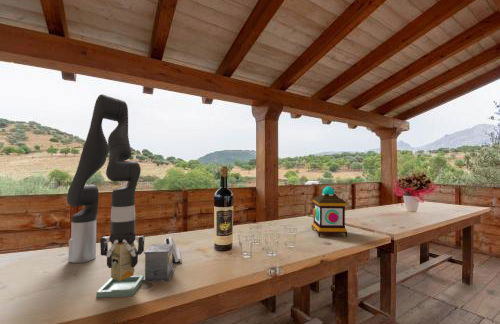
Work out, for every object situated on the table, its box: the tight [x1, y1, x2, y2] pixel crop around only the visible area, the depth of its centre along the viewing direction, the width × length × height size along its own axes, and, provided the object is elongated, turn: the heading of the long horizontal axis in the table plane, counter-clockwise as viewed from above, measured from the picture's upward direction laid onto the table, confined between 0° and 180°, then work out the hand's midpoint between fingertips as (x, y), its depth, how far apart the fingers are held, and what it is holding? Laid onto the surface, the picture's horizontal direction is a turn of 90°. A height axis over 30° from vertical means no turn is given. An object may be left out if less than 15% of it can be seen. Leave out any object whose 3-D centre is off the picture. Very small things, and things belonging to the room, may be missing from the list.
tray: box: [95, 274, 145, 299], centre depth 83 cm, size 11×11×2 cm
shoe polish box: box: [110, 241, 135, 281], centre depth 83 cm, size 5×5×12 cm
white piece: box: [163, 236, 183, 265], centre depth 112 cm, size 17×5×10 cm, turn 19°
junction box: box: [142, 243, 175, 283], centre depth 93 cm, size 9×10×11 cm
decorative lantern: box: [311, 185, 348, 238], centre depth 154 cm, size 20×20×30 cm
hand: (122, 266), depth 83 cm, fingers closed on shoe polish box, 7 cm apart
